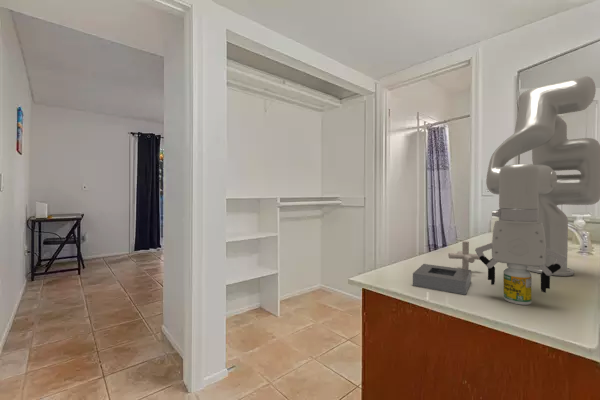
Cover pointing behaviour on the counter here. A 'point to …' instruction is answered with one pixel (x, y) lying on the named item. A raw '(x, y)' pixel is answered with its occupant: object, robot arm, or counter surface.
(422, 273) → the socket block
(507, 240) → the robot arm
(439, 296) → the counter surface
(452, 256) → the pipe connector
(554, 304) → the counter surface
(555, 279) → the counter surface
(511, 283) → the supplement bottle
